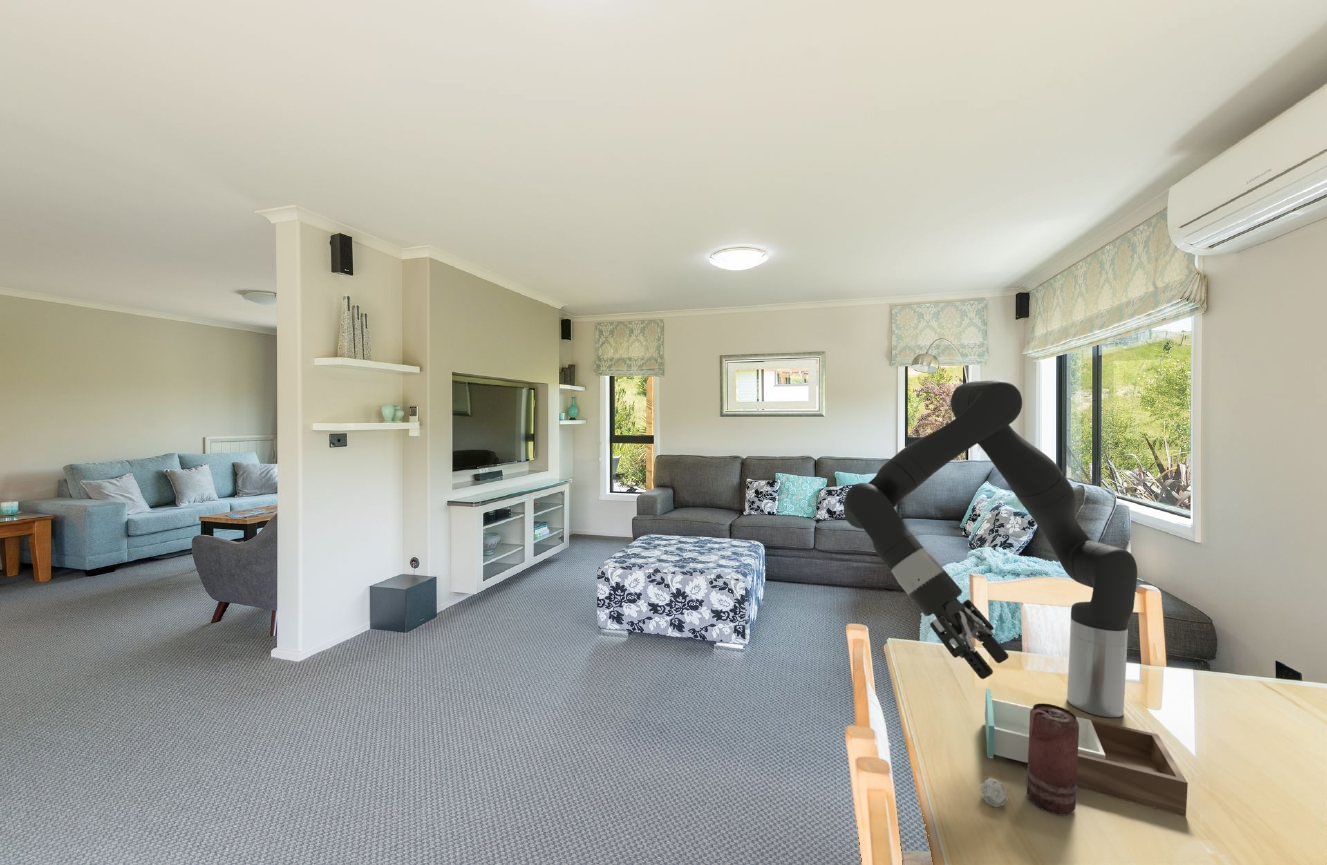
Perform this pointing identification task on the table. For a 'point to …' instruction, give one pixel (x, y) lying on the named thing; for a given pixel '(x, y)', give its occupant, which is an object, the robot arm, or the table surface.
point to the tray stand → (1133, 769)
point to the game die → (993, 792)
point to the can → (1052, 758)
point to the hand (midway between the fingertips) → (996, 668)
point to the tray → (1025, 731)
